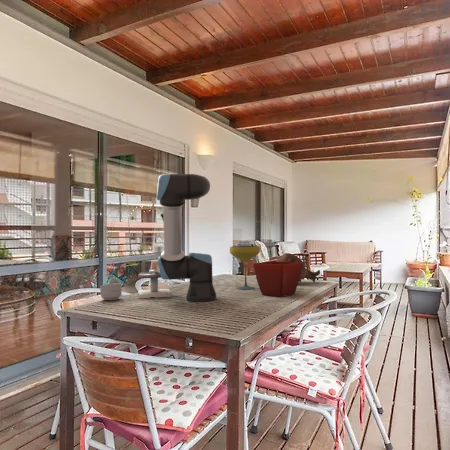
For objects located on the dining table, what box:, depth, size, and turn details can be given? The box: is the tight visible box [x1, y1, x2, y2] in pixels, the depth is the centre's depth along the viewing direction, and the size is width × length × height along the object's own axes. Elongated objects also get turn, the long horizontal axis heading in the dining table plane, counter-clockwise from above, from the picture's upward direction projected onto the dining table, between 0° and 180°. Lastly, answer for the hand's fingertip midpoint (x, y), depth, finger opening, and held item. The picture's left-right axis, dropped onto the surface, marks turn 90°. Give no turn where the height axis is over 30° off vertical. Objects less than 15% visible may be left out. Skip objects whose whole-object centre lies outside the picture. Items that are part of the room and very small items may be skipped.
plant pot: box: [253, 260, 302, 298], centre depth 201 cm, size 19×19×17 cm
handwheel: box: [137, 261, 162, 279], centre depth 211 cm, size 17×17×8 cm
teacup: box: [99, 282, 123, 301], centre depth 200 cm, size 14×11×8 cm
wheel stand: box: [138, 278, 172, 299], centre depth 211 cm, size 17×17×10 cm
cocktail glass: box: [229, 245, 261, 291], centre depth 228 cm, size 18×18×25 cm
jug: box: [276, 252, 321, 283], centre depth 246 cm, size 20×20×30 cm
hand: (172, 242), depth 220 cm, fingers closed
